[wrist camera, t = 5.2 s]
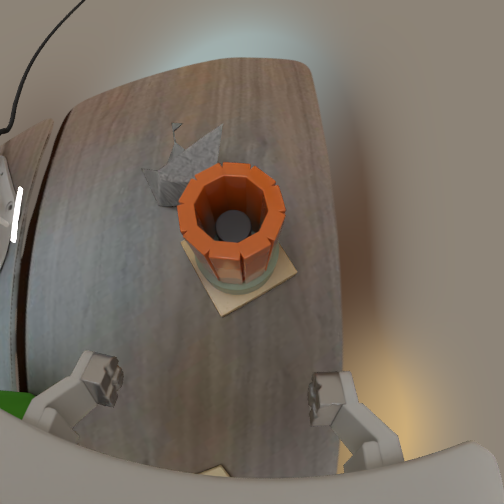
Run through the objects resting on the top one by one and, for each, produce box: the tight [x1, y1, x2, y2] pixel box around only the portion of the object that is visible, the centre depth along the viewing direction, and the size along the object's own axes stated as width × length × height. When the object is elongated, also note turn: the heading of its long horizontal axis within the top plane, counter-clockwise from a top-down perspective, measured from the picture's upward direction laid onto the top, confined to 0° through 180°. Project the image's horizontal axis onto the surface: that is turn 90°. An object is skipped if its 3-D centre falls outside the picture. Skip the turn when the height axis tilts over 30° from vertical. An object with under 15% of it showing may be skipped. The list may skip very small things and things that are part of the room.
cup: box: [0, 390, 36, 420], centre depth 18 cm, size 9×9×11 cm
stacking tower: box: [181, 210, 297, 317], centre depth 24 cm, size 8×8×10 cm
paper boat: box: [141, 123, 223, 206], centre depth 28 cm, size 12×6×9 cm
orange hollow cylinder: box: [177, 162, 286, 285], centre depth 20 cm, size 6×6×8 cm
